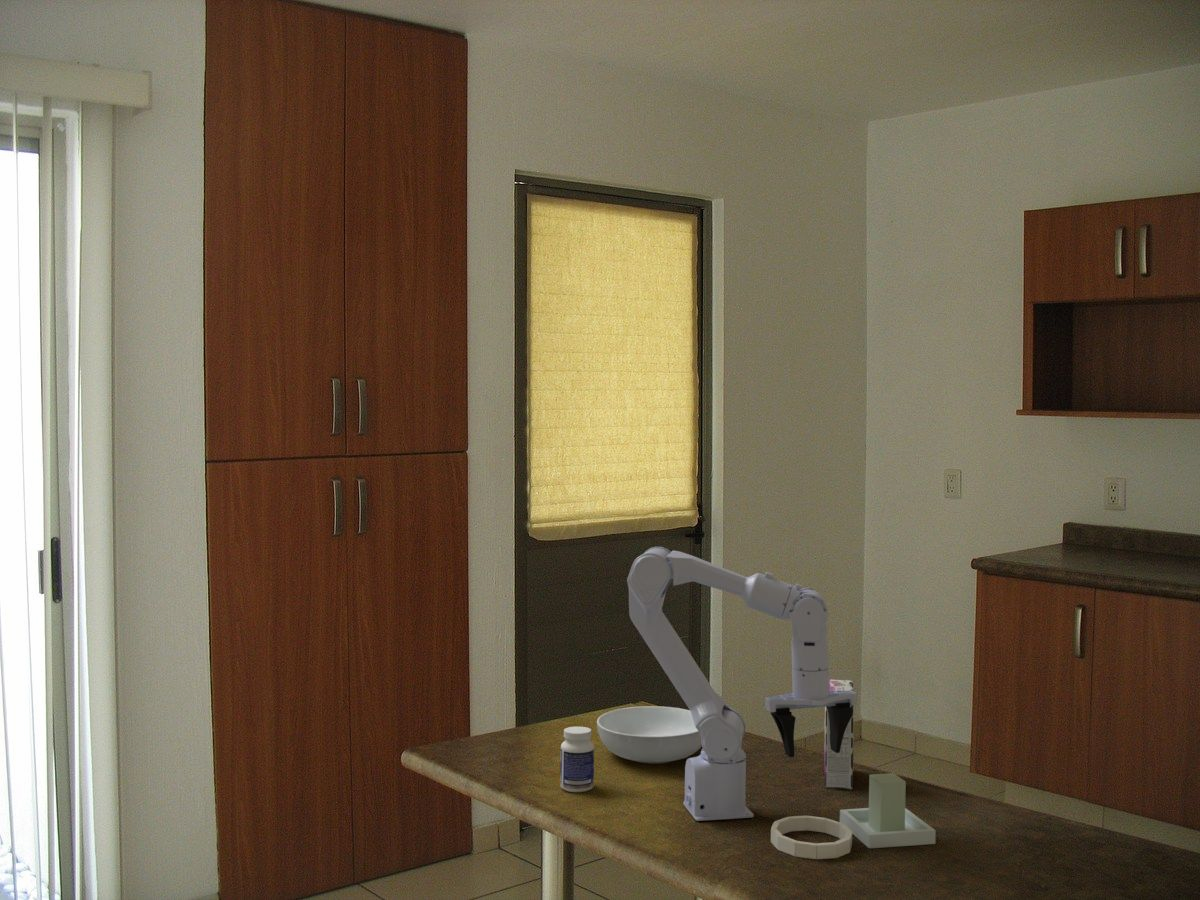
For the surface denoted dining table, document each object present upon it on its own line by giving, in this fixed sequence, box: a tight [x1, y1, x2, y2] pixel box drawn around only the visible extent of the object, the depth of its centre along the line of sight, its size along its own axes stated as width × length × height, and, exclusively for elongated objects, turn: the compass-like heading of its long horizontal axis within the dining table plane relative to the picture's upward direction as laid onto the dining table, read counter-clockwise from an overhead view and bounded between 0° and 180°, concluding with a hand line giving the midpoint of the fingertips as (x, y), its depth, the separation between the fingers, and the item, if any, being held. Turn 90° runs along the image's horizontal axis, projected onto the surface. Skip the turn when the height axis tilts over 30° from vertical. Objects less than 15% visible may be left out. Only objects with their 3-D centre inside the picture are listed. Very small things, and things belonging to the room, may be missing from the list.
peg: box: [868, 772, 907, 832], centre depth 170 cm, size 4×4×8 cm
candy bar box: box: [823, 678, 855, 790], centre depth 195 cm, size 11×5×16 cm, turn 168°
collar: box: [770, 815, 853, 860], centre depth 166 cm, size 12×12×2 cm
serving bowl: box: [596, 705, 702, 765], centre depth 207 cm, size 21×21×7 cm
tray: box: [839, 807, 937, 849], centre depth 170 cm, size 11×11×2 cm
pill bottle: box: [559, 726, 595, 793], centre depth 189 cm, size 6×6×10 cm
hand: (812, 753), depth 176 cm, fingers open, 7 cm apart
